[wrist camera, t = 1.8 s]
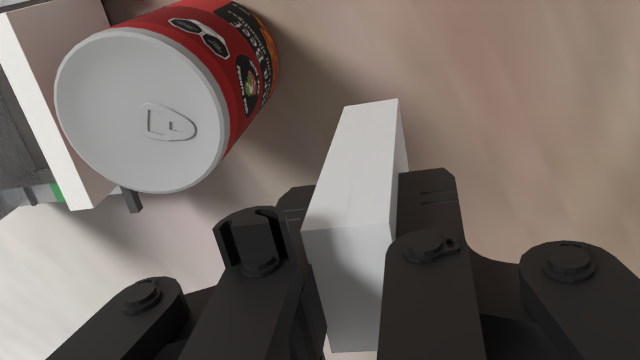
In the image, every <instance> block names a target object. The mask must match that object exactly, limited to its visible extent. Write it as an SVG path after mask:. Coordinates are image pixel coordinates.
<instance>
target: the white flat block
mask: <svg viewBox="0 0 640 360" xmlns="http://www.w3.org/2000/svg"><path fill="white" fill-rule="evenodd" d="M109 27H110V24H109V22H108V19H107V16H106V14H105V11H104V8H103V6H102V3H101V0H54V1H49V2H45V3H41V4H37V5H33V6H29V7H25V8H21V9H17V10H13V11H9V12H5V13H0V64H1V66H2V68H3V70H4V72H5V74H6V76H7V78H8V80H9V83H10V85H11V87H12V89H13V91H14V93H15V95H16V97H17V99H18V101H19V104H20V106H21V108H22V110H23V112H24V114H25V116H26V118H27V120H28V123H29V125H30V127H31V129H32V131H33V133H34V135H35V137H36V139H37V141H38V144H39V146H40V148H41V150H42V152H43V154H44V156H45V158H46V160H47V163H48V165H49V167H50V169H51V171H52V173H53V175H54V177H55V179H56V181H57V184H58V186H59V188H60V190H61V192H62V194H63V196H64V198H65V200H66V203H67V205H68V207H69V209H70V211H75V210H83V209H91V208H94V207H96V206H97V205H98V204H99V203H100V202H101V201H102V200H103V199H104V198H105V197H106V196H107V195H108V194H110V193H111V192H112V191H113V190H114V189H115V188H116V187H117V186H118V184H116V183H114V182H112V181H110V180H108V179H107V178H105V177H104V176H102V175H101V174H99V173H98V172H97V171H95V170H94V169H93V168H91V167H90V166H89V165H88V164H87V163H86V162H85V161H84V160H83V159H82V158H81V157H80V156H79V155H78V153H77V152H76V151H75V150H74V148H73V147H72V146H71V145H70V143H69V141H68V139H67V138H66V136H65V134H64V132H63V131H62V128H61V126H60V123H59V120H58V118H57V115H56V109H55V103H54V83H55V79H56V75H57V71H58V68H59V67H60V65H61V63H62V61H63V59H64V57H65V56H66V55H67V54H68V53H69V52H70V51H71V50H72V49H73V47H74V46H75V45H77V44H79V43H80V42H82V41H83V40H85V39H86V38H88V37H90V36H91V35H93V34H94V33H97V32H100V31H102V30H105V29H106V28H109ZM119 187H120V189H121V191H122V194H123V196H124V199H125V201H126V203H127V206H128V208H129V210H130V213H138V212H140V211H141V210H142V209H143V206H142V204H141V201H140V199H139V196H138V194H137V191H135V190H132V189H129V188H125V187H122V186H120V185H119Z"/></svg>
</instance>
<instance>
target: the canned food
mask: <svg viewBox="0 0 640 360" xmlns="http://www.w3.org/2000/svg"><path fill="white" fill-rule="evenodd" d="M277 77H278V58H277V52H276V48H275V45H274V42H273V40H272V37H271V35H270V34H269V32H268V30H267V29H266V27H265V25H264V24H263V23H262V22H261V21H260V20H259V19H258V18H257V16H255V15H254V14H253V13H252V12H250V11H249V10H248V9H247V8H245V7H243V6H241V5H239V4H237V3H235V2H234V1H231V0H182V1H179V2H176V3H174V4H171V5H168V6H166V7H163V8H160V9H157V10H155V11H152V12H149V13H147V14H144V15H141V16H138V17H136V18H133V19H130V20H128V21H125V22H122V23H119V24H117V25H114V26H111V27H109V28H106V29H105V30H102V31H100V32H97V33H94V34H93V35H91V36H90V37H88V38H86V39H85V40H83V41H82V42H80V43H79V44H77V45H75V46H74V47H73V49H72V50H71V51H70V52H69V53H68V54H67V55H66V56H65V57H64V59H63V61H62V63H61V65H60V67H59V68H58V71H57V75H56V79H55V83H54V103H55V109H56V115H57V118H58V120H59V123H60V126H61V128H62V131H63V132H64V134H65V136H66V138H67V139H68V141H69V143H70V145H71V146H72V147H73V148H74V150H75V151H76V152H77V153H78V155H79V156H80V157H81V158H82V159H83V160H84V161H85V162H86V163H87V164H88V165H89V166H90V167H91V168H93V169H94V170H95V171H97V172H98V173H99V174H101V175H102V176H104V177H105V178H107V179H108V180H110V181H112V182H114V183H116V184H118V185H120V186H122V187H125V188H129V189H132V190H135V191H138V192H144V193H151V194H169V193H173V192H178V191H183V190H185V189H187V188H190V187H192V186H194V185H196V184H197V183H199V182H200V181H201V180H203V179H204V178H205V177H207V175H209V174H210V173H211V172H212V171H213V170H214V169H215V168H216V166H217V165H218V164H219V163H220V162H221V160H222V159H223V158H224V157H225V156H226V154H227V153H228V152H229V151H230V149H231V148H232V147H233V145H234V144H235V143H236V141H237V140H238V139H239V137H240V136H241V135H242V133H243V132H244V131H245V129H246V128H247V127H248V125H249V124H250V123H251V121H252V120H253V119H254V117H255V116H256V115H257V113H258V112H259V111H260V109H261V108H262V107H263V105H264V104H265V103H266V102H267V100H268V99H269V98H270V96H271V94H272V92H273V90H274V88H275V85H276V81H277Z"/></svg>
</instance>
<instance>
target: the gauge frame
mask: <svg viewBox="0 0 640 360" xmlns="http://www.w3.org/2000/svg"><path fill="white" fill-rule="evenodd" d="M25 1H29V0H0V7H4V6H8V5H12V4H16V3H21V2H25ZM121 193H122V191H121V189H120V187H119V185H118V186H117V187H116V188H115V189H114V190H113V191H112V192H111V193H110V194H108V195H113V194H121ZM137 193H138V191H137ZM57 201H58V203H59V202H66V200H65V198H64V196H63V194H62V192H61V190H60V188H59V186H58V184H57V181H56V179H55V177H54V175H53V173H52V171H51V169H50V168H47V169H40V170H37V169H36V167H35V165H34V162H33V160H32V158H31V156H30V154H29V152H28V150H27V148H26V146H25V144H24V142H23V140H22V138H21V136H20V134H19V132H18V130H17V128H16V126H15V124H14V121H13V119H12V117H11V115H10V113H9V111H8V109H7V107H6V105H5V103H4V101H3V99H2V97H1V95H0V220H1V219H2V218H4V217H5V216H6V215H8V214H9V213H10V212H12V211H13V210H14V209H16V208H17V207H19V206H26V205H32V206H35V205H37V204H41V203H49V202H57Z"/></svg>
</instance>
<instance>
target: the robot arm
mask: <svg viewBox="0 0 640 360" xmlns="http://www.w3.org/2000/svg"><path fill="white" fill-rule="evenodd" d="M212 230H213V233H214V235H215V238H216V241H217V244H218V247H219V250H220V253H221V256H222V259H223V262H224V265H225V268H226V269H225V271H224V273H223V274H222V276H221V278H220V280H219V282H218V284H217V285H215V286H212V287H209V288H206V289H202V290H199V291H195V292H192V293H188V294H185V295H184V294H183V292H182V289H181V287H180V284H179V283H178V282H177V281H176V279H173V278H170V277H166V276H164V277H151V278H146V279H143V280H140V281H137V282H136V283H135V284H133V285H131V286H129V287H127V288H125V289H124V290H122V291H121V292H120V293H118V294H117V295H116V296H114V297H113V298H112V299H111V300H110V301H109V302H108V303H107V304H105V305H104V306H103V307H102V308H101V309H100V310H99V311H98V312H97V313H96V314H95V315H93V316H92V317H91V318H90V319H89V320H88V321H87V322H86V323H85V324H84V325H83V326H82V327H80V328H79V329H78V330H77V331H76V332H75V333H74V334H73V335H72V336H71V337H70V338H68V339H67V340H66V341H65V342H64V343H63V344H62V345H61V346H60V347H59V348H58V349H56V350H55V351H54V352H53V353H52V354H51V355H50V356H49V357H48V358H47V359H46V360H325V356H324V353H323V346H324V341H325V336H326V332H327V336H328V340H329V344H330V347H331V351H332V353H338V352H362V351H377V360H640V279H639V278H638V277H637V276H636V275H635V274H634V273H632V272H631V271H630V270H629V269H628V268H627V267H626V266H625V265H624V264H623V263H621V262H620V261H619V260H618V259H617V258H616V257H615V256H613V255H612V254H610V253H609V252H607V251H605V250H604V249H602V248H600V247H597V246H594V245H591V244H587V243H584V242H577V241H565V240H563V241H554V242H546V243H543V244H540V245H537V246H535V247H532V248H531V249H529V250H528V251H527V252H526V253H524V254H523V255H522V257H521V260H520V263H519V264H514V263H506V262H500V261H495V260H491V259H489V258H486V257H483V256H481V255H479V254H478V253H476V252H474V251H473V250H472V249H471V248H470V247H469V246H468V245H467V242H466V240H465V236H464V230H463V224H462V218H461V212H460V206H459V200H458V194H457V188H456V182H455V177H454V176H453V175H452V174H451V173H449V172H448V171H447V170H446V169H444V168H436V169H428V170H420V171H411V172H409V167H408V161H407V154H406V147H405V141H404V134H403V127H402V121H401V114H400V108H399V101H398V98H397V99H390V100H384V101H377V102H371V103H364V104H358V105H351V106H345V107H344V109H343V112H342V115H341V118H340V121H339V123H338V126H337V129H336V132H335V135H334V138H333V140H332V143H331V146H330V149H329V152H328V154H327V157H326V160H325V163H324V166H323V168H322V171H321V174H320V177H319V180H318V182H317V185H309V186H300V187H292V188H291V189H290V190H289V191H288V192H287V193H285V194H284V195H283V196H282V197H281V198H280V199H279V200H278V203H277V205H276V207H274V206H256V207H251V208H246V209H243V210H240V211H238V212H235V213H232V214H230V215H229V216H227V217H225V218H224V219H222V220H221V221H219V222H218V223H217V224H216V225H215V227H214V228H213V229H212Z"/></svg>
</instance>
